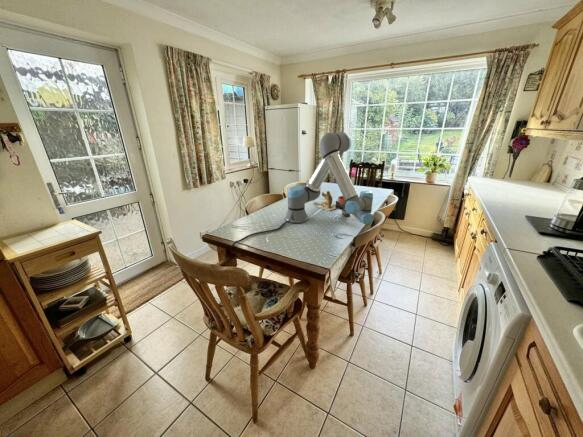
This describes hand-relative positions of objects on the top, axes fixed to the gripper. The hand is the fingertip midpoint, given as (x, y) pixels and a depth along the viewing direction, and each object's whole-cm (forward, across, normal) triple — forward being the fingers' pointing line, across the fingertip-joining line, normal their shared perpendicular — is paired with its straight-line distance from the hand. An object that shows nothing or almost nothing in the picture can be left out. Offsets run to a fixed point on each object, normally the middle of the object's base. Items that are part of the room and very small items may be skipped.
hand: (344, 201), depth 172 cm
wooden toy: (+20, -9, -10) cm, 24 cm away
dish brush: (-3, 0, -10) cm, 10 cm away
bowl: (+22, +10, -10) cm, 26 cm away
